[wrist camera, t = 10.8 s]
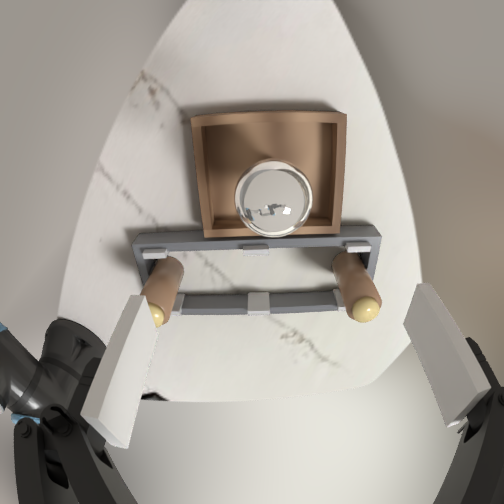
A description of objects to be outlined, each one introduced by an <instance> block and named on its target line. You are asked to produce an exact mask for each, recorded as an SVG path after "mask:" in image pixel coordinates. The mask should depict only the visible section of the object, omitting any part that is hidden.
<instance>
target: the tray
mask: <svg viewBox="0 0 504 504" xmlns="http://www.w3.org/2000/svg"><path fill="white" fill-rule="evenodd" d="M346 126H347V114H344V113H341V112H333V111H303V110H277V111H246V112H229V113H216V114H205V115H196V116H194V117H192V118H191V129H192V139H193V148H194V158H195V167H196V175H197V184H198V192H199V200H200V208H201V215H202V223H203V230H204V237H205V238H207V237H233V236H262V235H259V234H257V233H255V232H253V231H251V230H250V229H249V228H248V227H246V226H245V224H244V223H243V222H242V221H241V219H240V218H239V216H238V214H237V212H236V208H235V204H234V191H235V186H236V184H237V181H238V179H239V178H240V176H241V175H242V173H243V172H244V171H245V170H246V169H247V168H248V167H249V166H251V165H252V164H254V163H256V162H258V161H260V160H264V159H269V158H277V159H283V160H286V161H289V162H291V163H293V164H294V165H296V166H297V167H299V168H300V169H301V170H302V171H303V172H304V173H305V175H306V176H307V178H308V179H309V182H310V184H311V187H312V192H313V205H312V209H311V212H310V214H309V217H308V219H307V220H306V221H305V223H304V224H303V225H302V226H301V227H300V228H299V229H298V230H296V231H294V232H293V233H291V234H288V235H295V234H334V233H340V223H341V213H342V201H343V188H344V173H345V154H346Z"/></svg>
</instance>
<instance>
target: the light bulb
mask: <svg viewBox="0 0 504 504" xmlns="http://www.w3.org/2000/svg"><path fill="white" fill-rule="evenodd" d="M234 204H235V208H236V212H237V214H238V216H239V218H240V219H241V221H242V222H243V223H244V224H245V226H246V227H248V228H249V229H250V230H251V231H253V232H255V233H257V234H259V235H262V236H267V237H281V236H285V235H288V234H291V233H293V232H294V231H296V230H298V229H299V228H300V227H301V226H302V225H303V224H304V223H305V221H306V220H307V219H308V217H309V214H310V212H311V209H312V205H313V192H312V187H311V184H310V182H309V179H308V178H307V176H306V175H305V173H304V172H303V171H302V170H301V169H300V168H299V167H297V166H296V165H294V164H293V163H291V162H289V161H286V160H283V159H277V158H269V159H264V160H260V161H258V162H256V163H254V164H252V165H251V166H249V167H248V168H247V169H246V170H245V171H244V172H243V173H242V175H241V176H240V178H239V179H238V181H237V184H236V186H235V191H234Z"/></svg>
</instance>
